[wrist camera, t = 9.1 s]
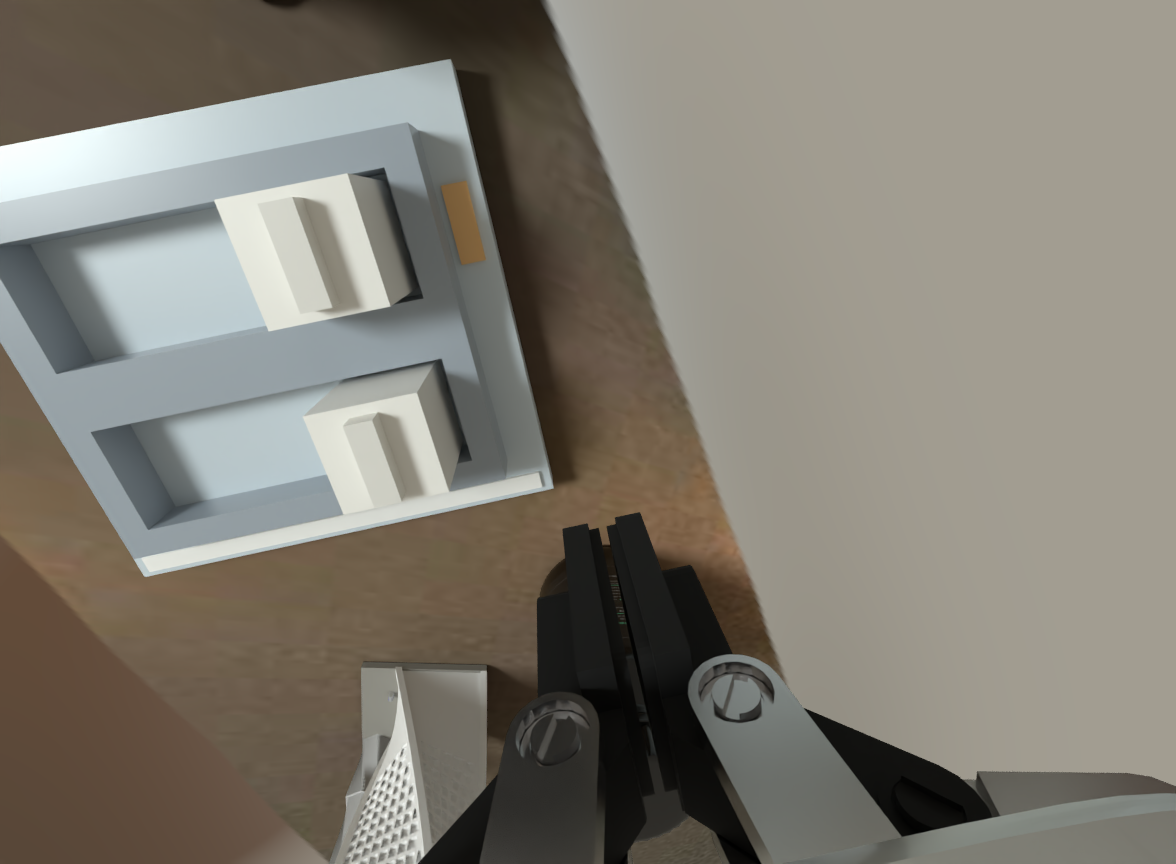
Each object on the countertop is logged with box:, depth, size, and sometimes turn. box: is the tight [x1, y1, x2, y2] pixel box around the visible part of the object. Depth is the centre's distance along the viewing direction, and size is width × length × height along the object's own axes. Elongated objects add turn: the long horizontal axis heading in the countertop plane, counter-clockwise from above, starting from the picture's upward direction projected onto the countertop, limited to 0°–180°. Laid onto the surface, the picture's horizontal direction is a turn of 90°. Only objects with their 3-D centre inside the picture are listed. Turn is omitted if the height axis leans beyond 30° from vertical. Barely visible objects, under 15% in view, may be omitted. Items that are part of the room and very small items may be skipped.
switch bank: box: [0, 59, 553, 577], centre depth 23 cm, size 18×20×4 cm
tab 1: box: [214, 173, 418, 331], centre depth 19 cm, size 4×4×6 cm
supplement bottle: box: [539, 547, 689, 843], centre depth 26 cm, size 7×7×12 cm
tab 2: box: [303, 359, 463, 515], centre depth 22 cm, size 4×4×6 cm
